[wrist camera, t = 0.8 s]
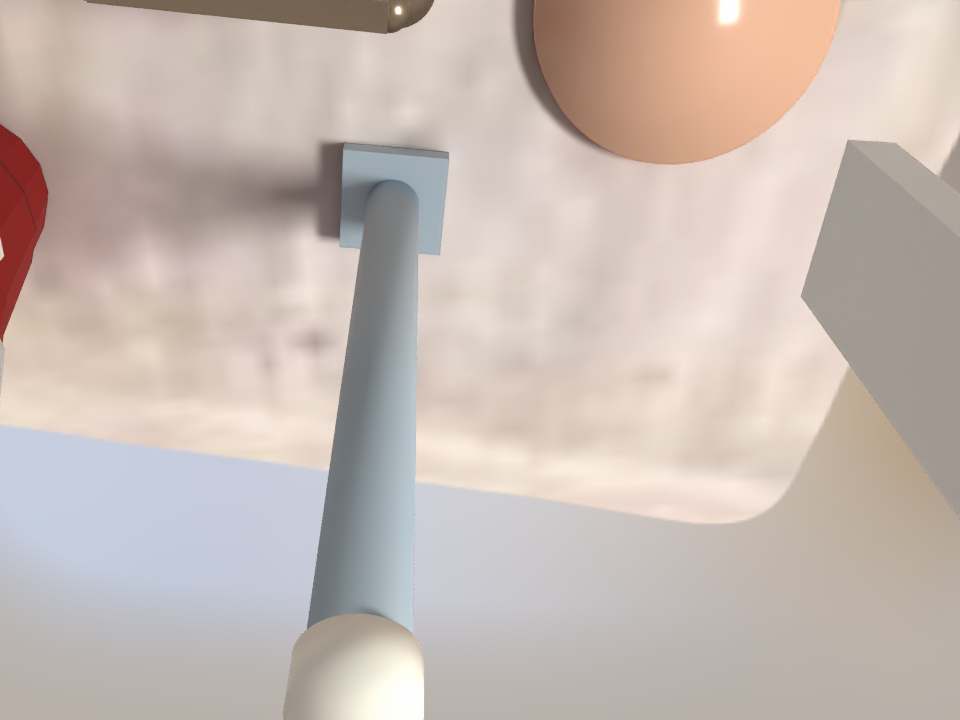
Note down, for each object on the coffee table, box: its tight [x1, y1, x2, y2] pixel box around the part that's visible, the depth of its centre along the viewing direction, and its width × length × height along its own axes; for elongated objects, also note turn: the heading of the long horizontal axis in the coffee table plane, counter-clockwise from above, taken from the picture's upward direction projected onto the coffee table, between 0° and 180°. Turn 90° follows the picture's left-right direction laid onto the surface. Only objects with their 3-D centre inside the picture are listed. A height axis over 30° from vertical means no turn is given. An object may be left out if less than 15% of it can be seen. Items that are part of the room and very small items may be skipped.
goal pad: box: [533, 0, 841, 165], centre depth 33 cm, size 11×11×1 cm
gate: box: [283, 143, 449, 720], centre depth 22 cm, size 4×20×24 cm, turn 173°
